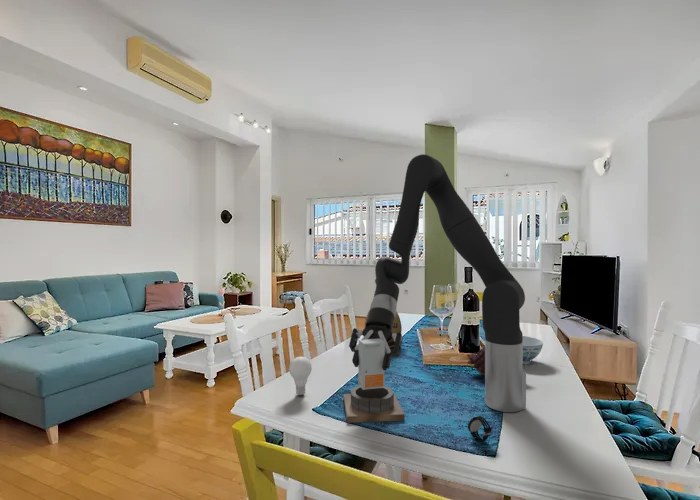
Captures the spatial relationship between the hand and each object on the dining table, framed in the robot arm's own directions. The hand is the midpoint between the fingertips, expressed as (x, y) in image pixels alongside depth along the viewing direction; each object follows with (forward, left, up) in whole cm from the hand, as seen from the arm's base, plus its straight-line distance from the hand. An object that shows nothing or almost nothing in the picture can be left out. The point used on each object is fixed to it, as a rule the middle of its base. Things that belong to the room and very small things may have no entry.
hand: (369, 367), depth 99 cm
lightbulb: (+18, -12, -12) cm, 25 cm away
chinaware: (-60, -36, -12) cm, 71 cm away
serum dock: (-1, -1, -11) cm, 11 cm away
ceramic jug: (-14, -61, -12) cm, 64 cm away
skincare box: (-1, -1, -6) cm, 6 cm away
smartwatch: (-22, +17, -12) cm, 30 cm away
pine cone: (-43, -21, -12) cm, 49 cm away
